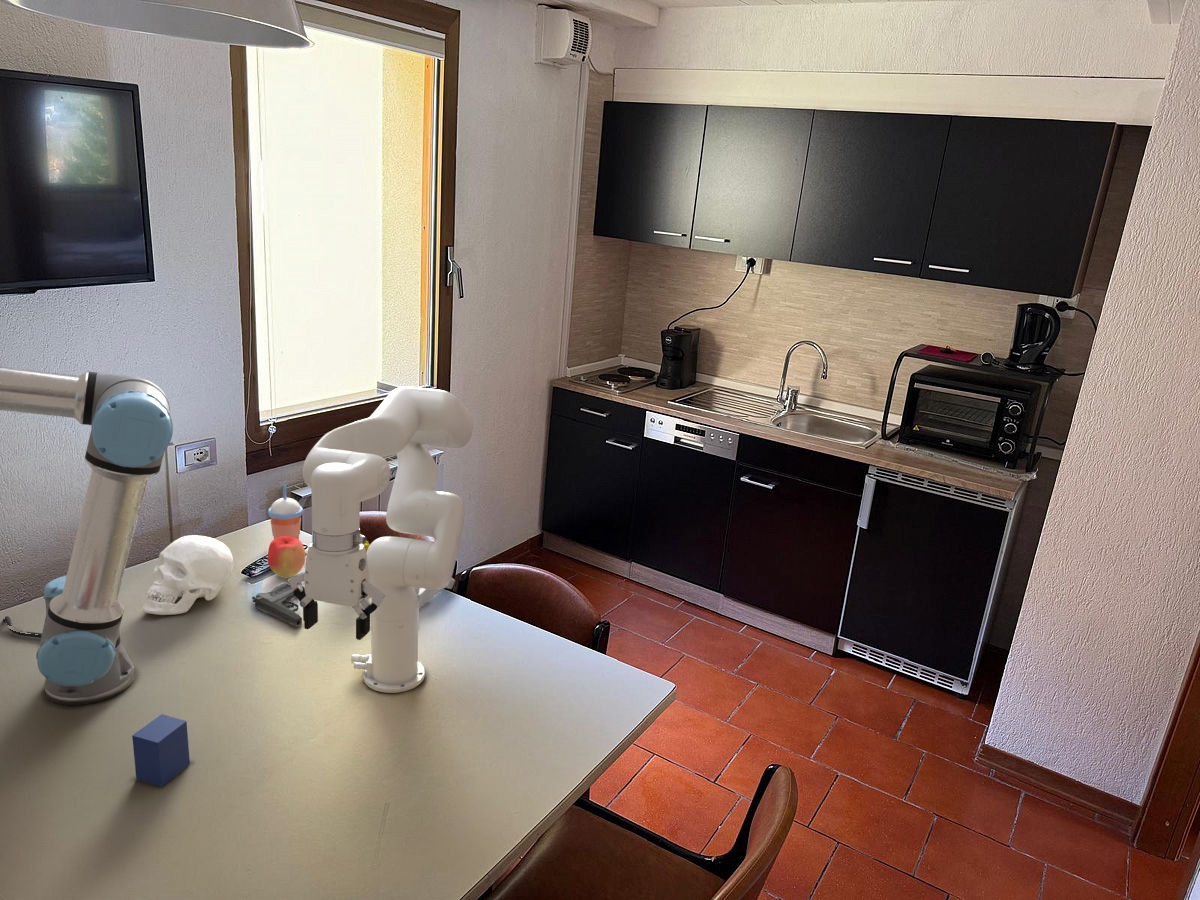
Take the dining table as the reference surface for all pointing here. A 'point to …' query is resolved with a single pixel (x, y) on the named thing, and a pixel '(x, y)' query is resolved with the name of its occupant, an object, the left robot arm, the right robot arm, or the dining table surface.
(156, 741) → the brick
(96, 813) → the dining table surface
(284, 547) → the apple
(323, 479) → the right robot arm
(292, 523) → the cup with straw
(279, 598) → the handgun
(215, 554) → the skull
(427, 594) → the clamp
